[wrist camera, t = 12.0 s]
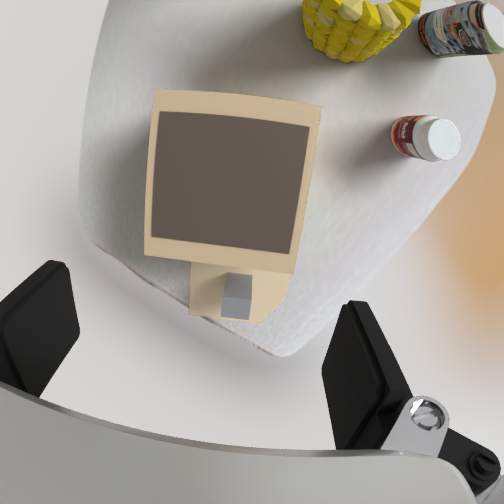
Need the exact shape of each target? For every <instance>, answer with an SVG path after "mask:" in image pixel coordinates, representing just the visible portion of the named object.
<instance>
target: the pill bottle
mask: <svg viewBox="0 0 504 504" xmlns="http://www.w3.org/2000/svg"><path fill="white" fill-rule="evenodd" d="M391 139H392V143H393V145H394V147H395V148H396V149H397V150H398V151H399V152H400V153H401V154H403V155H406V156H410V157H415V158H419V159H423V160H427V161H432V162H436V161H439V160H450V159H452V158H453V157H455V156H456V154H457V153H458V151H459V148H460V135H459V132H458V130H457V128H456V126H455V125H454V124H453V123H452V122H451V121H449V120H447V119H440V118H438V117H436V116H432V115H421V116H405V117H401V118H399V119H398V120H397V121H396V122H395V123H394V124H393V126H392V129H391Z"/></svg>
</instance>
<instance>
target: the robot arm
mask: <svg viewBox="0 0 504 504" xmlns="http://www.w3.org/2000/svg"><path fill="white" fill-rule="evenodd" d="M79 334H80V327H79V323H78V318H77V313H76V309H75V303H74V297H73V291H72V285H71V279H70V272H69V269H68V268H67V267H66V265H65V263H63V262H59V261H54V260H49V261H47V262H46V263H45V264H44V265H42V266H41V267H40V268H39V269H37V270H36V271H35V272H34V273H33V274H31V275H30V276H29V277H28V278H27V279H26V280H24V281H23V282H22V283H21V284H20V285H19V286H18V287H16V288H15V289H14V290H13V291H12V292H11V293H10V294H9V295H8V296H6V297H5V298H4V299H3V300H2V301H1V302H0V504H504V475H502V476H501V475H500V470H501V467H500V463H499V460H498V458H497V456H496V455H495V454H494V453H493V452H492V451H490V450H489V449H487V448H485V447H483V446H482V445H479V444H478V443H476V442H474V441H472V440H470V439H468V438H466V437H465V436H463V435H461V434H459V433H457V432H455V431H454V430H452V429H450V428H448V426H449V415H448V412H447V410H446V409H445V407H444V406H443V405H442V404H441V403H440V402H438V401H436V400H435V399H433V398H430V397H427V396H417V397H413V395H412V393H411V391H410V389H409V386H408V384H407V382H406V380H405V377H404V375H403V373H402V371H401V369H400V367H399V364H398V362H397V360H396V358H395V356H394V354H393V352H392V350H391V348H390V346H389V344H388V342H387V340H386V338H385V336H384V334H383V332H382V330H381V328H380V326H379V324H378V322H377V320H376V318H375V316H374V314H373V312H372V310H371V309H370V307H369V305H368V303H367V302H364V301H352V300H350V301H349V302H348V304H344V305H343V306H342V308H341V311H340V314H339V317H338V321H337V324H336V327H335V330H334V333H333V336H332V339H331V342H330V345H329V348H328V350H327V353H326V356H325V359H324V362H323V365H322V378H323V383H324V388H325V393H326V398H327V403H328V408H329V414H330V419H331V424H332V429H333V435H334V441H335V446H336V450H289V449H267V448H253V447H242V446H232V445H222V444H215V443H208V442H201V441H195V440H188V439H183V438H177V437H172V436H166V435H161V434H157V433H152V432H147V431H143V430H139V429H134V428H131V427H126V426H123V425H119V424H115V423H111V422H108V421H105V420H101V419H98V418H94V417H91V416H88V415H85V414H82V413H79V412H76V411H73V410H70V409H67V408H64V407H61V406H59V405H56V404H53V403H51V402H48V401H45V400H43V399H40V398H39V397H40V395H41V394H42V392H43V390H44V389H45V387H46V386H47V384H48V383H49V381H50V379H51V378H52V376H53V375H54V373H55V372H56V370H57V369H58V367H59V365H60V364H61V363H62V361H63V360H64V358H65V357H66V355H67V354H68V352H69V351H70V349H71V348H72V346H73V345H74V344H75V342H76V341H77V339H78V337H79Z"/></svg>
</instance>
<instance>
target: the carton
mask: <svg viewBox="0 0 504 504" xmlns="http://www.w3.org/2000/svg"><path fill="white" fill-rule="evenodd" d="M321 108H322V106H317V105H312V104H306V103H301V102H295V101H288V100H282V99H275V98H268V97H260V96H252V95H243V94H233V93H222V92H209V91H191V90H155V92H154V100H153V108H152V117H151V126H150V137H149V148H148V161H147V175H146V194H145V223H144V255H148V256H155V257H163V258H170V259H177V260H185V261H192V262H200V263H207V264H215V265H223V266H231V267H238V268H246V269H254V270H262V271H271V272H279V273H287V274H294V269H295V264H296V259H297V254H298V248H299V243H300V238H301V232H302V227H303V221H304V216H305V210H306V204H307V198H308V193H309V187H310V181H311V175H312V168H313V162H314V156H315V149H316V143H317V136H318V129H319V122H320V115H321Z"/></svg>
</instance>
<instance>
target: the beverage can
mask: <svg viewBox="0 0 504 504" xmlns="http://www.w3.org/2000/svg"><path fill="white" fill-rule="evenodd" d="M418 32H419V36H420V39H421V41H422V42H423V44H424V46H425V47H426V48H427V49H428V50H429V51H430V52H431V53H432V54H434V55H435V56H438V57H442V58H444V57H455V56H467V55H484V54H500V53H502V52H503V51H504V13H503V12H502V11H501V10H500V8H498V7H497V6H496V5H494V4H492V3H487V2H485V1H482V0H474V1H470V2H465V3H461V4H457V5H453V6H450V7H446V8H443V9H439V10H436V11H432V12H429V13H426V14H424V15H422V16H421V17H420V19H419V22H418Z"/></svg>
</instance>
